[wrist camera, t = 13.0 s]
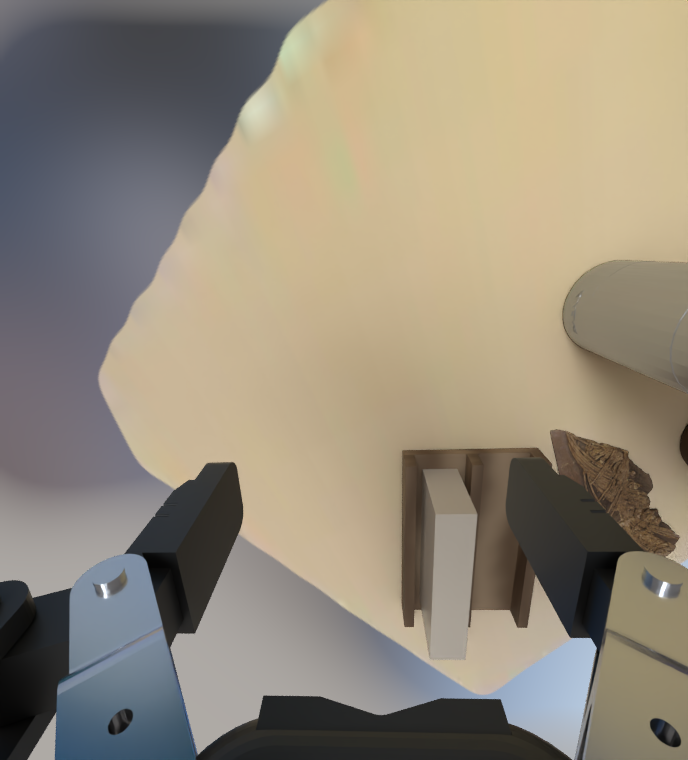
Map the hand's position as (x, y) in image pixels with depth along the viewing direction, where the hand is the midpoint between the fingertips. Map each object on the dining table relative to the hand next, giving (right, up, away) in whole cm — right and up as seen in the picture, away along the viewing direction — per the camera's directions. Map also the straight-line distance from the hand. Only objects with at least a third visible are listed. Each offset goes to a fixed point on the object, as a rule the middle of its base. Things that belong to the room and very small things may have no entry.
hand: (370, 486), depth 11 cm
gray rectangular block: (+11, -17, +36) cm, 41 cm away
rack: (+15, -16, +37) cm, 43 cm away
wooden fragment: (+31, -12, +35) cm, 49 cm away
